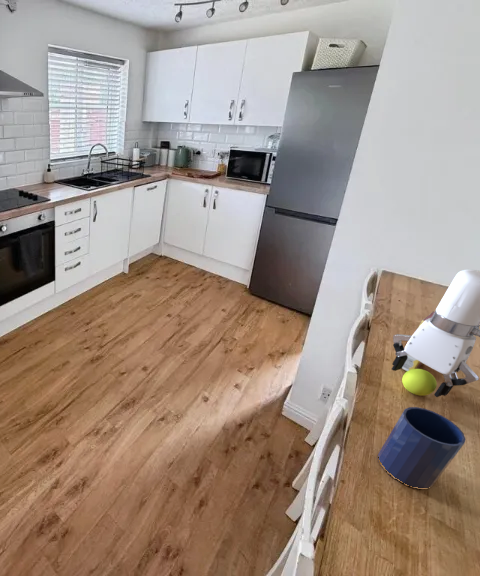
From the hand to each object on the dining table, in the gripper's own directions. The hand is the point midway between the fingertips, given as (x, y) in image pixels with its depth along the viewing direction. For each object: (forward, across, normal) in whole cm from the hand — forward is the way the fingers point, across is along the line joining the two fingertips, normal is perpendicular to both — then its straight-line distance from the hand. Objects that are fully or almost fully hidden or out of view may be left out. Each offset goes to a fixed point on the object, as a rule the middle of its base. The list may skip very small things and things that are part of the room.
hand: (416, 381), depth 90 cm
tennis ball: (+3, 0, 0) cm, 3 cm away
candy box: (+3, +7, -11) cm, 14 cm away
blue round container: (+3, -13, +26) cm, 29 cm away
